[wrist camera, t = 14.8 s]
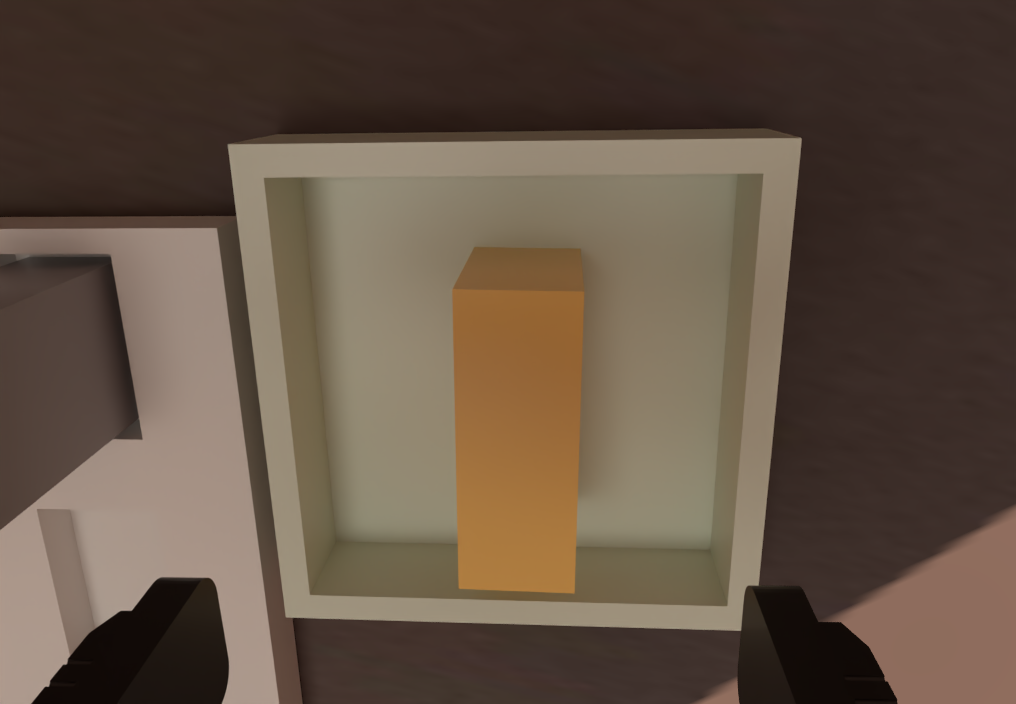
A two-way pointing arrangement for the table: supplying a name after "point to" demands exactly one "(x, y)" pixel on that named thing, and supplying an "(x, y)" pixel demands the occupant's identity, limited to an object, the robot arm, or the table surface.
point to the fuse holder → (155, 465)
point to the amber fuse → (518, 417)
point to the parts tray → (605, 359)
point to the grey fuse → (58, 373)
